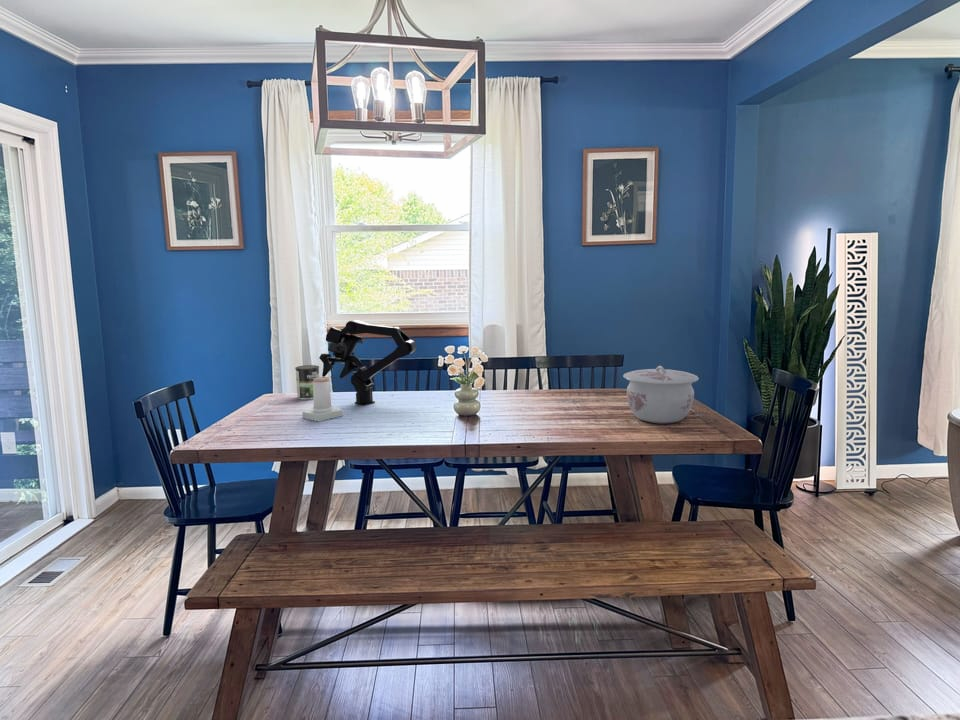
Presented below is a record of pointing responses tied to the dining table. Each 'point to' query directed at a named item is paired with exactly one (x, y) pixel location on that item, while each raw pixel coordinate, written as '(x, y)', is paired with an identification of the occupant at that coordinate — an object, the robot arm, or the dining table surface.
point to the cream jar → (321, 395)
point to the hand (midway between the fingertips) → (331, 377)
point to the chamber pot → (660, 394)
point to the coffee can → (306, 381)
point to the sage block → (322, 414)
